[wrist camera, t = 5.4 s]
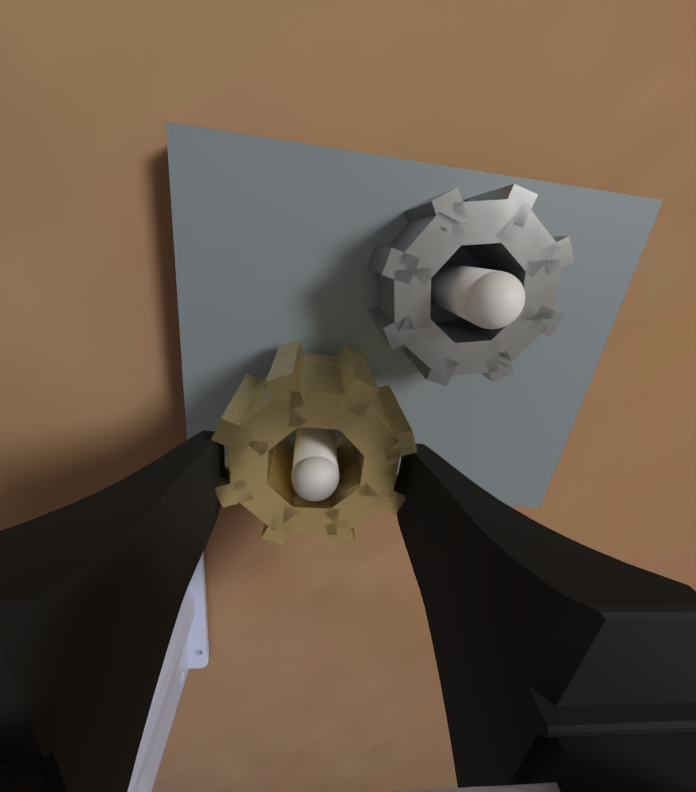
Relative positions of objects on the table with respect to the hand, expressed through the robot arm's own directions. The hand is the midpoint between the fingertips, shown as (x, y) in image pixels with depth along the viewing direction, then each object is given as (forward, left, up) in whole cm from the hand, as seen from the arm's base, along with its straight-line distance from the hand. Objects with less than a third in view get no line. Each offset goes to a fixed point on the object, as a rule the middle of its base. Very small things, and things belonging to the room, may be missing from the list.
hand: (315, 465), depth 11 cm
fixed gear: (+6, -4, -3) cm, 8 cm away
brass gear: (+1, 0, -2) cm, 2 cm away
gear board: (+3, -3, -5) cm, 6 cm away
